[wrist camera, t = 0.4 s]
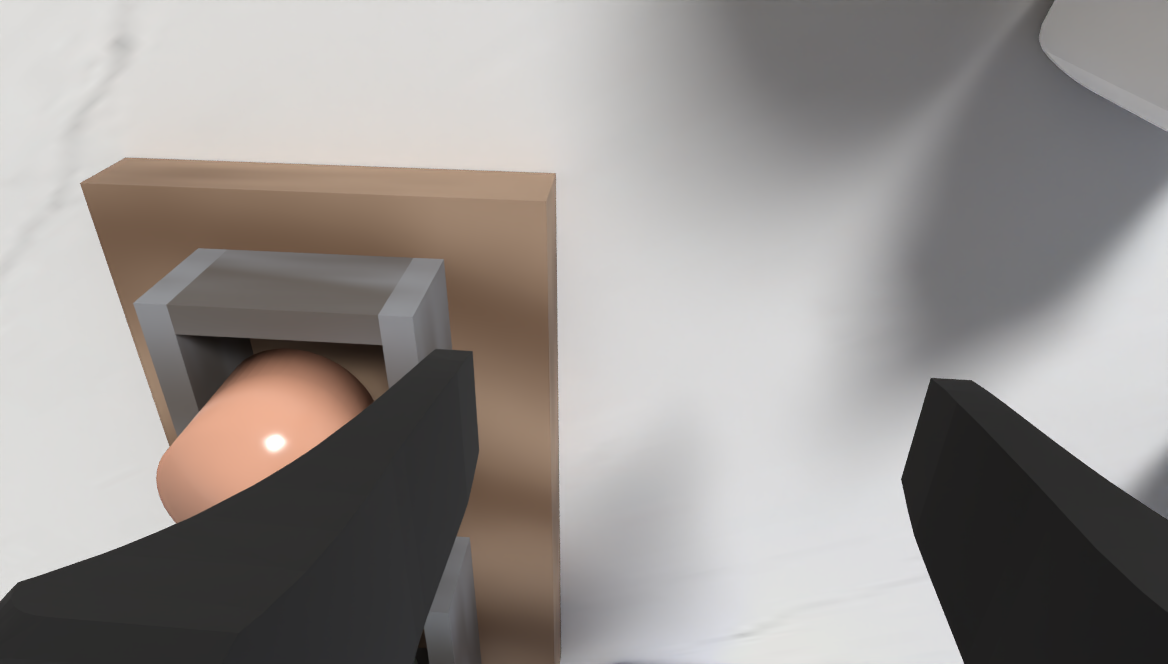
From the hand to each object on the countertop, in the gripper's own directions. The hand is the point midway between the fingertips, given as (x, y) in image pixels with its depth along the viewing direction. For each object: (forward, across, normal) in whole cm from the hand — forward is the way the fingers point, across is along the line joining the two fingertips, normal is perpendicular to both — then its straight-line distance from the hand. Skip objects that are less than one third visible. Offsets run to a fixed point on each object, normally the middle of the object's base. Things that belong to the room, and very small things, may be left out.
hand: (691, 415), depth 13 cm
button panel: (+10, +9, +10) cm, 17 cm away
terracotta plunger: (+5, +9, +5) cm, 12 cm away
